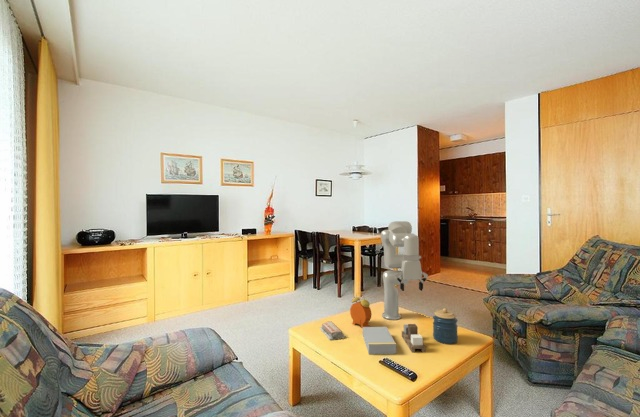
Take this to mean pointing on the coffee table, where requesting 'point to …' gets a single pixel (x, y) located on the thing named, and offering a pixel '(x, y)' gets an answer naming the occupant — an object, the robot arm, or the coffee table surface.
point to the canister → (445, 327)
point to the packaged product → (331, 331)
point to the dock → (379, 340)
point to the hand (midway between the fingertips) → (411, 290)
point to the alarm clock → (360, 312)
